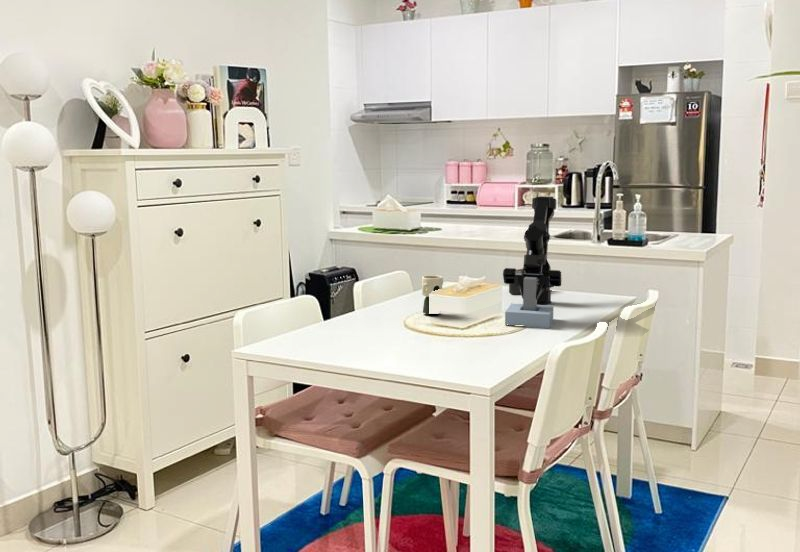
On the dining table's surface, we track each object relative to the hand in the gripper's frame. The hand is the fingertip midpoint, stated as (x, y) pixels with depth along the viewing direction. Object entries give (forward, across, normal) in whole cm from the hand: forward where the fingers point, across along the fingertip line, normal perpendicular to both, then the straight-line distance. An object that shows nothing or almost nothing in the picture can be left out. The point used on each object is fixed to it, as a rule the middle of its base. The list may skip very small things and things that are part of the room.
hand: (529, 298), depth 264 cm
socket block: (+5, 0, +7) cm, 8 cm away
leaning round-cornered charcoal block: (-32, -8, +44) cm, 55 cm away
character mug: (+3, -33, +9) cm, 35 cm away
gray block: (+4, 0, +6) cm, 7 cm away
